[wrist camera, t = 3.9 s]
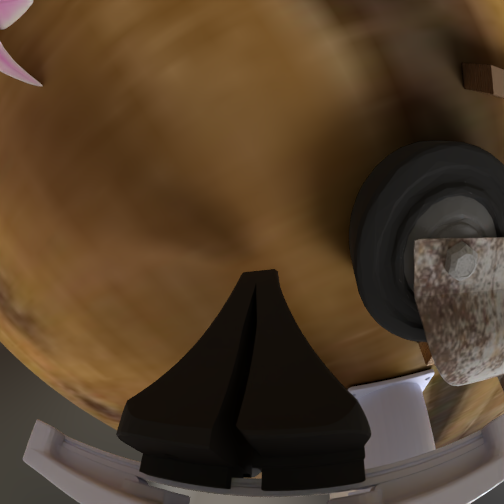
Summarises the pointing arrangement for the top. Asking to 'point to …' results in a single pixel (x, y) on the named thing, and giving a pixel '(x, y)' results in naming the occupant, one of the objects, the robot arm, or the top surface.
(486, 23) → the top surface
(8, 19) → the lily
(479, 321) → the caster wheel
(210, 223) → the top surface
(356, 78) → the top surface
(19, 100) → the top surface
